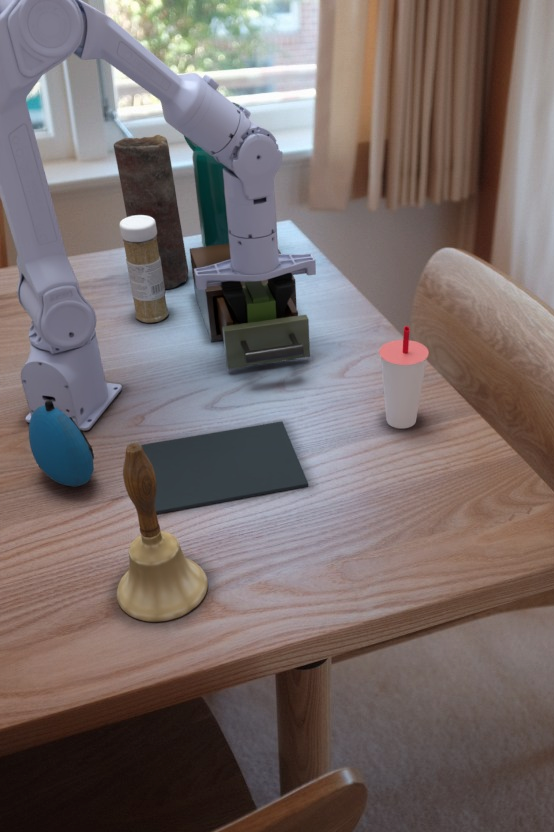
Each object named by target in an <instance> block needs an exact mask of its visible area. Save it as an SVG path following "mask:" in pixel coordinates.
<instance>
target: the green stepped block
mask: <svg viewBox="0 0 554 832" xmlns="http://www.w3.org/2000/svg"><path fill="white" fill-rule="evenodd" d="M243 291H244V294H245V296H246V320H247V323H251V322H258V321H265V320H272V319H276V304H275V300H274V297H273V295H272V293H271V291H270V289H269V287H268V285H267V284H262V282H261V281H247V282H245V286H244V287H243Z"/></svg>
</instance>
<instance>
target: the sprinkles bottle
mask: <svg viewBox="0 0 554 832" xmlns="http://www.w3.org/2000/svg"><path fill="white" fill-rule="evenodd" d="M119 231H120V232H119V233H120V237H121V239H122V241H123V247H124V251H125V252H124V253H125V258H126V259H125V261H126V266H127V272H128V278H129V285H130V290H131V296H132V299H133V305H134V311H135V312H134V315H135V318H136V319H137V320H138V321H140V322H141V323H142V322H143V323H148V324H149V323H152V324H153V323H158V322H161V321H163V320H165V319H166V318H167V317H168V315H169V309H168V306H167V298H166V289H165V287H164V280H163V273H162V266H161V260H160V256H159V251H158V244H157V228H156V223H155V220H154V219H153V218H152V217H150V216H146V215H134V216H130V217H127V216H126V217H124V218H123V219H121V220H120V222H119Z"/></svg>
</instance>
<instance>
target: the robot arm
mask: <svg viewBox="0 0 554 832" xmlns="http://www.w3.org/2000/svg"><path fill="white" fill-rule="evenodd" d="M72 55H74V56H76V57H77V58H79V59H80V60H82V61H87V60H103V61H105V62H106V63H108V64H109V65H111V66H112V67H113V68H115V69H116V70H117V71H119V72H120V73H122V74H123V75H124V76H126V77H127V78H128V79H130V81H133V82H134V83H135V84H137V85H138V86H139V87H141V89H143V90H145V91H146V92H147V93H149V94H151V95H152V96H153V97H155V98H156V99H157V100H159V101H160V105H161V109H162V114H163V119H164V120H165V122H166V123H167V124H168V125H169V126H171V127H172V128H174V129H175V130H176V131H178V132H179V133H180V134H181V135H182V136H183V137H184V136H186V137H187V138H188V139H190V140H191V141H192V142H194V143H195V144H196V145H198V146H199V147H200V148H202V149H203V150H204V151H206V152H207V153H208V154H210V155H211V156H213V157H214V158H215V160H216V161H217V162H218V163H222V164H223V165H224V166H226V167H227V168H228V169H226V168H223V177H224V188H225V202H226V212H227V223H228V235H229V246H230V256H231V259H230V260H227V261H223V262H220V263H217V264H213V265H210V266H206V267H202V268H196V269H194V274H195V282H196V286H197V288H198V290H205V289H207V287H208V286H216V285H220V286H221V289H222V291H223V294H224V296H225V298H226V299H227V301H228V303H229V304H230V306H231V307H232V309H233V311H234V313H235V315H236V317H237V320H238V324H244V323H247V320H246V296H245V294H244V291H243V286H242V284H241V282H246V281H263V280H267V279H268V286H269V289H270V291H271V293H272V295H273V297H274V300H275V304H276V319H279V318H283V314H284V311H285V308H286V305H287V303H288V301H289V299H290V297H291V295H292V294H293V292H294V287H295V285H294V281H293V279H292V275H293V276H296V275H297V276H298V275H304V274H305V275H306V276H316V275H317V266H316V265H317V263H316V258H315V257H314V256H313V254H312V253H302V254H296V253H295V254H294V253H292V254H291V253H290V254H289V253H281V254H278V249H279V242H278V240H279V239H278V224H277V223H278V221H277V207H276V189H275V178H276V175H277V173H278V172H279V170H280V167H281V165H282V162H283V151H282V150H280V148H279V144H277V139H276V136H275V135H274V134H272V133H271V132H270V130H267V129H266V128H264V127H263V126H261V125H259V124H258V123H256V122H255V121H253V120H252V119H250V117H251V115H252V113H251V111H249V109H247V107H245V106H243V105H240V106H239V108H238V107H237V106H235V105H234V104H233V103H234V102H233V101H231V100H229V98H227V97H226V96H225V95H223V93H221V92H220V91H218V89H219V86H220V84H219V83H218V82H217V81H216V80H215V79H214V78H212V77H211V76H209V75H208V74H205V75H203V77H202V76H200V75H199V74H198V73H196V72H190V73H185V74H183V73H182V74H177V73H176V72H174V71H173V69H171V68H170V67H169V66H168V65H166V64H165V63H164V62H163V61H162V60H161V59H159V58H158V57H157V56H156V55H155V54H153V52H151V51H150V50H149V49H148V48H147V47H145V46H144V44H142V43H141V42H139V40H137V39H136V38H135V37H134V36H133V35H131V33H129V32H128V31H127V30H126V29H125V28H123V26H121V25H119V23H117V22H116V21H115V20H114V19H113V18H111V17H110V16H109V15H107V14H106V13H104V12H102V11H101V10H99V9H97V8H95V7H94V6H92V5H90V4H89V3H87V2H85V1H83V0H0V200H1V204H2V206H3V207H2V208H3V210H4V214H5V217H6V220H7V223H8V228H9V230H10V235H11V237H12V241H13V243H14V247H15V250H16V254H17V257H16V259H15V261H16V265H17V269H18V282H17V287H16V295H17V299H18V302H19V304H20V306H21V307H22V308H23V310H24V311H26V312H27V314H28V316H29V318H30V319H31V322H30V327H29V332H28V339H29V347H30V349H29V353H28V354H29V355H28V357H27V360H26V362H25V363H24V365H23V366H22V368H21V371H20V381H21V384H22V389H23V392H24V396H25V400H26V403H27V406H28V410H29V413H28V414H27V415H26V417H24V418H25V422H26V423H29V424H30V419H31V416H32V414H33V412H34V411H35V410H36V409H37V408H38V407H40V406H45V402H46V401H48V400H50V401H52V402H53V404H54V407H55V408H57V409H59V410H60V411H62V412H63V413H64V414H65V415H67V416H68V417H72V419H73V421H74V422H75V424H76V425H77V426H78V428H79V429H82V430H83V431H89V430H91V428H92V427H93V426H94V424H95V423H96V422H97V421H98V419H99V418H101V416H102V414H103V413H104V412H105V411H106V410H107V408H108V407H109V406H110V405H111V403H112V402H113V401H114V399H115V398H116V397H117V396H118V395H119V393H120V392H121V391H122V390H123V387H122V385H121V384H119V383H112V382H107V380H106V376H105V370H104V366H103V361H102V356H101V352H100V347H99V342H98V337H97V331H96V327H97V314H96V311H95V309H94V306H93V305H92V304H91V302H89V301H88V299H86V298H85V296H84V295H83V293H82V292H81V288H80V285H79V281H78V278H77V276H76V274H75V271H74V269H73V267H72V265H71V262H70V260H69V258H68V255H67V251H66V248H65V243H64V239H63V236H62V232H61V229H60V224H59V221H58V218H57V214H56V209H55V205H54V202H53V198H52V194H51V191H50V185H49V182H48V178H47V176H46V171H45V167H44V164H43V160H42V157H41V156H42V155H41V153H40V148H39V144H38V141H37V138H36V133H35V130H34V126H33V121H32V119H31V114H30V110H29V107H28V103H27V97H28V96H29V94H30V93H31V91H32V90H33V89H34V88H35V86H36V85H37V84H38V82H39V80H40V79H41V78H42V77H43V76H44V75H45V74H47V73H48V72H50V71H51V70H53V69H54V68H56V67H57V66H59V65H60V64H62V63H63V62H65V61H66V60H67V59H68V58H70V57H71V56H72ZM232 102H233V103H232Z"/></svg>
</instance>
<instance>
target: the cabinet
mask: <svg viewBox="0 0 554 832" xmlns="http://www.w3.org/2000/svg"><path fill="white" fill-rule="evenodd" d="M278 254H282V252H281V251H280V249H279V248H278ZM189 256H190V264H191V273H192V280H193V281H192V282H193V289H194V296H195V300H196V302H197V305H198V307H199V310H200V314H201V317H202V320H203V322H204V324H205V327H206V330H207V333H208V335H209V339H210V341H211V342H218V341H224V340H223V337H222V335H221V332H220V329H219V327H218V324H217V321H216V316H215V307H214V298H213V296H220V295H224V294H223V291H222V289H221V286H220V285H216V286H208V287H207V289H205V290H198V288H197V286H196V282H195V274H194V269H196V268H202V267H206V266H210V265H213V264H217V263H220V262H223V261H227V260H230V259H231V256H230V246H229V244H222V245H214V246H206V247H202V246H198V247H191V248H189ZM292 279H293V281H294V285H295V287H294V292H293V294H292V295H291V297H290V298H291V300H292V302H293V303H294V305H295V307H296V309H297V287H296V286H297V283H296V278H295V275H292ZM246 282H247V281H246ZM261 282H262V284H267V285H268V279H267V280H263V281H261ZM241 284H242V286H243V287H244V286H245V282H241ZM268 287H269V286H268ZM297 310H298V309H297Z"/></svg>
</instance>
